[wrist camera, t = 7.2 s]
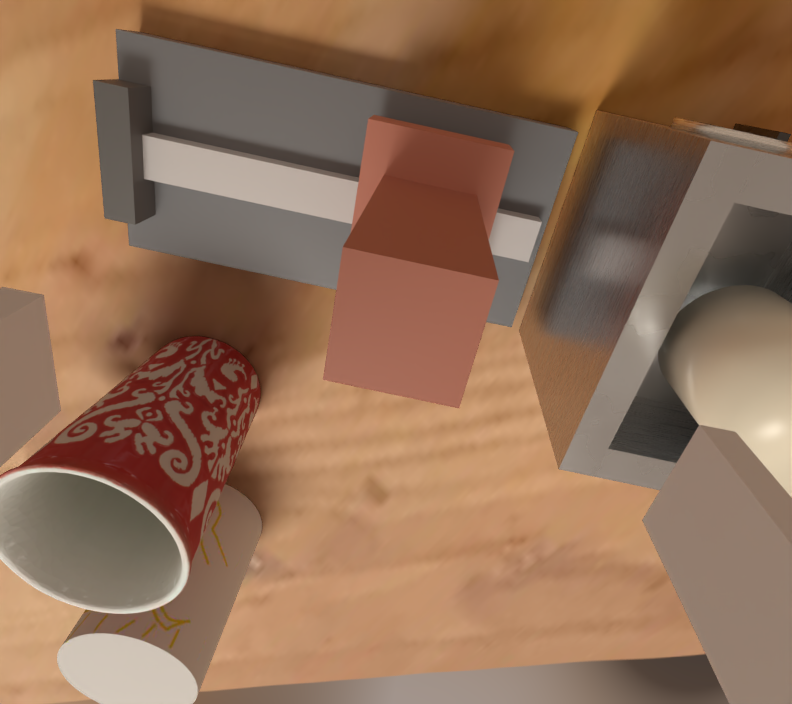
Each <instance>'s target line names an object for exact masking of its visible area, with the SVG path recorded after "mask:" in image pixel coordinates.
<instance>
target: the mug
mask: <svg viewBox="0 0 792 704" xmlns="http://www.w3.org/2000/svg"><path fill="white" fill-rule="evenodd" d="M260 396H261V390H260V384H259V380H258V377H257V374H256V372H255V370H254V369H253V367H252V366H251V364H250V363H249V362H248V360H247V359H246V358H245V357H244V356H243V355H242V354H241V353H239V352H238V351H237V350H235V349H234V348H232V347H231V346H230V345H227V344H226V343H224V342H220V341H218V340H215V339H212V338H208V337H201V336H193V337H183V338H180V339H177V340H174V341H172V342H170V343H168V344H167V345H165V346H164V347H162V348H161V349H160V350H159V351H157V352H156V353H155V354H154V355H153V356H151V357H150V358H149V359H148V360H147V361H146V362H144V363H143V364H142V365H141V366H140V367H138V368H137V369H136V370H135V371H134V372H132V373H131V374H130V375H129V376H127V377H126V378H125V379H124V380H123V381H121V382H120V383H119V384H118V385H117V386H115V387H114V388H113V389H112V390H111V391H110V392H108V393H107V394H106V395H105V396H104V397H102V398H101V399H100V400H99V401H98V402H97V403H95V404H94V405H93V406H92V407H90V408H89V409H88V410H87V411H85V412H84V413H83V414H82V415H80V416H79V417H78V418H77V419H76V420H74V421H73V422H72V423H71V424H69V425H68V426H67V427H66V428H64V429H63V430H62V431H61V432H60V433H58V434H57V435H56V436H55V437H54V438H52V439H51V440H50V441H49V442H48V443H47V444H45V445H44V446H43V447H42V448H41V449H39V450H38V451H37V452H36V453H35V454H34V455H32V456H31V457H30V458H29V459H28V460H26V461H25V462H24V463H23V464H21V465H20V466H19V467H16V468H14V469H11V470H8V471H6V472H5V473H3V474H2V475H0V559H1V560H2V561H3V562H4V563H5V564H6V565H7V566H8V567H9V568H10V569H11V570H12V571H13V572H14V573H15V574H17V575H18V576H19V577H20V578H22V579H23V580H24V581H26V582H27V583H28V584H30V585H31V586H33V587H34V588H36V589H37V590H39V591H41V592H43V593H45V594H47V595H49V596H51V597H53V598H55V599H57V600H59V601H62V602H65V603H67V604H70V605H73V606H77V607H80V608H83V609H87V610H92V611H97V612H103V613H113V614H129V613H139V612H145V611H149V610H153V609H156V608H158V607H161V606H163V605H165V604H167V603H169V602H170V601H172V600H173V599H175V598H176V597H177V596H178V595H179V594H180V593H181V592H182V590H183V589H184V588H185V586H186V584H187V582H188V579H189V576H190V573H191V566H192V560H193V558H194V555H195V553H196V551H197V548H198V546H199V543H200V541H201V539H202V536H203V534H204V532H205V530H206V528H207V525H208V523H209V520H210V518H211V516H212V513H213V511H214V509H215V507H216V504H217V501H218V499H219V496H220V494H221V492H222V490H223V487H224V485H225V483H226V480H227V478H228V476H229V474H230V472H231V470H232V468H233V466H234V463H235V460H236V458H237V455H238V453H239V450H240V448H241V446H242V444H243V441H244V439H245V437H246V434H247V432H248V430H249V428H250V425H251V423H252V421H253V418H254V416H255V414H256V411H257V409H258V406H259V402H260Z"/></svg>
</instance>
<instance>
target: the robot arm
mask: <svg viewBox="0 0 792 704" xmlns="http://www.w3.org/2000/svg"><path fill="white" fill-rule="evenodd" d="M60 411H61V408H60V401H59V395H58V388H57V381H56V374H55V368H54V361H53V354H52V348H51V341H50V334H49V327H48V321H47V314H46V307H45V300H44V295H41V294H36V293H31V292H26V291H21V290H16V289H11V288H6V287H2V288H0V467H1V466H2V465H3V464H4V463H5V462H6V461H7V460H8V459H9V458H11V457H12V456H13V455H14V454H15V453H16V452H17V451H18V450H19V449H20V448H21V447H22V446H23V445H25V444H26V443H27V442H28V441H29V440H30V439H31V438H32V437H33V436H34V435H35V434H36V433H38V432H39V431H40V430H41V429H42V428H43V427H44V426H45V425H46V424H47V423H48V422H49V421H50V420H52V419H53V418H54V417H55V416H56V415H57V414H58V413H59V412H60ZM642 521H643V523H644V525H645V527H646V529H647V531H648V533H649V535H650V537H651V540H652V542H653V544H654V546H655V548H656V550H657V552H658V554H659V556H660V559H661V561H662V563H663V565H664V567H665V569H666V571H667V573H668V575H669V577H670V580H671V582H672V584H673V586H674V588H675V590H676V592H677V594H678V596H679V599H680V601H681V603H682V605H683V607H684V609H685V611H686V613H687V615H688V617H689V620H690V622H691V624H692V626H693V628H694V630H695V632H696V634H697V636H698V639H699V641H700V643H701V645H702V647H703V649H704V651H705V653H706V655H707V657H708V660H709V662H710V663H711V666H712V668H713V670H714V672H715V674H716V676H717V678H718V681H719V683H720V685H721V687H722V689H723V691H724V693H725V695H726V697H727V700H728V702H729V704H792V498H791V496H790V495H789V494H788V493H787V492H786V490H785V489H784V488H783V487H782V486H781V485H780V483H779V482H778V481H777V480H776V479H775V478H774V476H773V475H772V474H771V473H770V472H769V470H768V469H767V468H766V467H765V466H764V465H763V463H762V462H761V461H760V460H759V459H758V457H757V456H756V455H755V454H754V453H753V452H752V450H751V449H750V448H749V447H748V446H747V445H746V443H745V442H744V441H743V440H742V439H741V437H740V436H739V435H738V434H737V433H736V432H735V431H729V430H724V429H719V428H714V427H709V426H704V425H699V426H698V428H697V430H696V431H695V433H694V435H693V436H692V438H691V440H690V441H689V443H688V445H687V446H686V448H685V450H684V451H683V453H682V455H681V456H680V458H679V460H678V461H677V463H676V465H675V466H674V468H673V470H672V471H671V473H670V475H669V476H668V478H667V480H666V481H665V483H664V485H663V486H662V488H661V490H660V491H659V493H658V495H657V496H656V498H655V500H654V501H653V503H652V505H651V506H650V508H649V510H648V511H647V513H646V515H645V516H644V518H643V520H642Z"/></svg>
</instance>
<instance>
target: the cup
mask: <svg viewBox="0 0 792 704" xmlns="http://www.w3.org/2000/svg"><path fill="white" fill-rule="evenodd" d="M261 532H262V520H261V517H260V514H259V512H258V510H257V508H256V507H255V506H254V504H253V503H252V502H251V501H250V500H249V499H248V498H247V497H246V496H245V495H243V494H242V493H241V492H239V491H238V490H236V489H234V488H233V487H231V486H228V485H226V484H225V485H224V487H223V490H222V492H221V494H220V496H219V499H218V501H217V504H216V507H215V509H214V511H213V513H212V516H211V518H210V520H209V523H208V525H207V528H206V530H205V532H204V534H203V536H202V539H201V541H200V543H199V546H198V548H197V551H196V553H195V555H194V558H193V560H192V566H191V573H190V576H189V579H188V582H187V584H186V586H185V588H184V589H183V590H182V592H181V593H180V594H179V595H178V596H177V597H176V598H175V599H173V600H172V601H170V602H169V603H167V604H165V605H163V606H161V607H158V608H156V609H153V610H149V611H145V612H139V613H129V614H113V613H103V612H97V611H92V610H87V609H86V610H85V612H84V613H83V615H82V616H81V618H80V619H79V621H78V622H77V624H76V625H75V627H74V628H73V630H72V631H71V633H70V634H69V636H68V637H67V639H66V640H65V642H64V643H63V645H62V646H61V648H60V649H59V652H58V655H57V662H58V666H59V669H60V671H61V673H62V674H63V676H64V677H65V678H66V680H67V681H68V682H69V683H70V684H71V685H72V686H73V687H75V688H76V689H77V690H78V691H80V692H81V693H82V694H84V695H86V696H87V697H89V698H91V699H92V700H94V701H96V702H99V703H100V704H193V703H194V701H195V700H196V698H197V695H198V693H199V690H200V688H201V685H202V683H203V680H204V678H205V675H206V672H207V670H208V667H209V665H210V662H211V660H212V657H213V655H214V652H215V650H216V647H217V645H218V642H219V639H220V637H221V634H222V632H223V629H224V627H225V624H226V622H227V619H228V617H229V614H230V612H231V609H232V607H233V604H234V601H235V599H236V596H237V594H238V591H239V589H240V586H241V584H242V581H243V579H244V576H245V574H246V571H247V569H248V566H249V563H250V561H251V558H252V556H253V553H254V551H255V548H256V546H257V543H258V541H259V538H260V536H261Z"/></svg>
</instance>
